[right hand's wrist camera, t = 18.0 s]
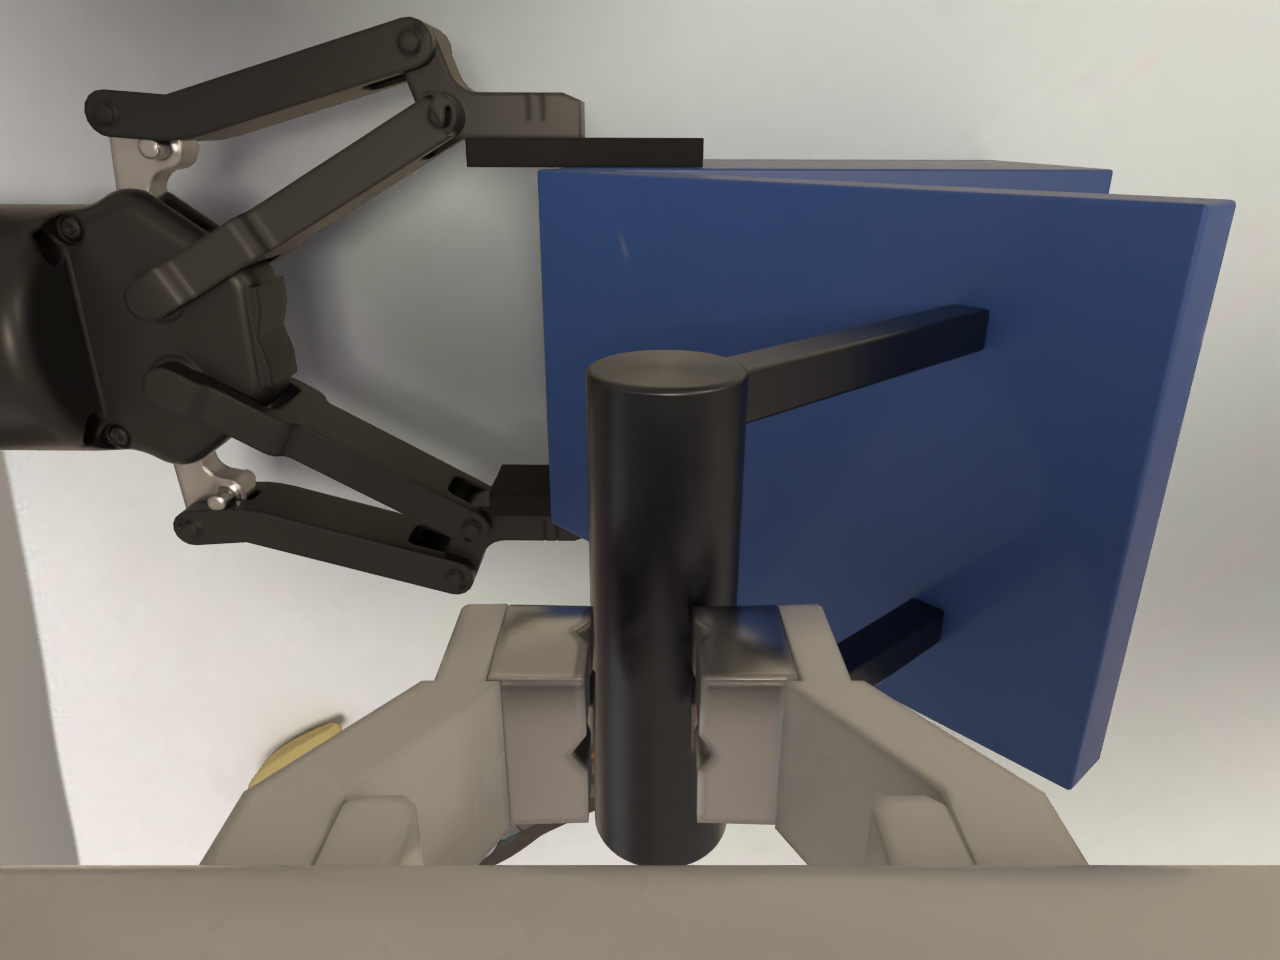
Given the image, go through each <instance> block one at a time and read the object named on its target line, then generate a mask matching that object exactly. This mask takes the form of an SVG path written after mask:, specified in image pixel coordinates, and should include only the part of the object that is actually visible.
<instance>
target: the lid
mask: <svg viewBox="0 0 1280 960" xmlns="http://www.w3.org/2000/svg"><path fill="white" fill-rule="evenodd" d="M538 193H539V218H540V243H541V269H542V294H543V320H544V345H545V371H546V396H547V421H548V447H549V472H550V498H551V521H552V523H554V524H556V525H558V526H560V527H562V528H564V529H566V530H567V531H569V532H571V533H573V534H575V535H577V536H579V537H581V538H583V539H585V540H587V541H589V556H590V602H591V606H593V611H594V632H595V644H594V657H593V670H594V671H595V672H596V719H595V742H594V786H595V821H596V827H597V830H598V832H599V834H600V836H601V838H602V840H603V841H604V843H605V844H606V845H607V846H608V847H609V848H610V850H611V851H613V852H614V853H615V854H616V855H618V856H619V857H621V858H623V859H624V860H627V861H629V862H631V863H634V864H637V865H688V864H691V863H693V862H695V861H697V860H699V859H701V858H703V857H704V856H706V855H707V854H708V853H710V852H711V851H712V850H713V849H714V848H715V846H716V845H717V844H718V843H719V841H720V839H721V838H722V836H723V833H724V831H725V827H726V823H697V815H696V805H695V794H694V783H693V759H694V754H692V753H691V747H690V731H689V672H690V670H691V669H692V659H691V647H690V621H691V608H692V607H704V606H746V605H796V604H818V605H820V606H821V607H822V608H823V610H824V613H825V616H826V618H827V621H828V623H829V626H830V628H831V631H832V633H833V636H834V638H835V641H836V643H837V646H838V648H839V651H840V653H841V656H842V658H843V661H844V663H845V666H846V668H847V671H848V673H849V676H850V678H851V681H865V682H867V683H868V684H870V685H871V686H873V687H875V688H876V689H878V690H879V691H881V692H883V693H884V694H886V695H887V696H889V697H891V698H892V699H894V700H896V701H897V702H899V703H901V704H903V705H905V706H907V707H909V708H911V709H913V710H915V711H917V712H919V713H921V714H922V715H924V716H926V717H928V718H930V719H932V720H934V721H936V722H938V723H940V724H942V725H944V726H946V727H948V728H949V729H951V730H953V731H955V732H957V733H959V734H961V735H963V736H965V737H967V738H969V739H971V740H973V741H975V742H977V743H978V744H980V745H982V746H984V747H986V748H988V749H990V750H992V751H994V752H996V753H998V754H1000V755H1002V756H1004V757H1005V758H1007V759H1009V760H1011V761H1013V762H1015V763H1017V764H1019V765H1021V766H1023V767H1025V768H1027V769H1029V770H1031V771H1032V772H1034V773H1036V774H1038V775H1040V776H1042V777H1044V778H1046V779H1048V780H1050V781H1052V782H1054V783H1056V784H1058V785H1059V786H1061V787H1063V788H1065V789H1068V790H1071V789H1072V788H1073V787H1074V786H1075V785H1076V784H1077V782H1078V781H1079V780H1080V779H1081V778H1082V777H1083V776H1084V775H1085V774H1086V773H1087V772H1088V770H1089V769H1090V768H1091V767H1092V766H1093V765H1094V764H1095V763H1096V762H1097V761H1098V760H1099V758H1100V754H1101V750H1102V746H1103V742H1104V738H1105V734H1106V730H1107V726H1108V721H1109V717H1110V713H1111V709H1112V705H1113V701H1114V697H1115V693H1116V689H1117V685H1118V681H1119V677H1120V673H1121V669H1122V665H1123V661H1124V657H1125V653H1126V649H1127V644H1128V640H1129V636H1130V632H1131V628H1132V624H1133V620H1134V616H1135V612H1136V608H1137V604H1138V600H1139V596H1140V592H1141V588H1142V584H1143V580H1144V576H1145V572H1146V567H1147V563H1148V559H1149V555H1150V551H1151V547H1152V543H1153V539H1154V535H1155V531H1156V527H1157V523H1158V519H1159V515H1160V511H1161V507H1162V503H1163V499H1164V495H1165V490H1166V486H1167V482H1168V478H1169V474H1170V470H1171V466H1172V462H1173V458H1174V454H1175V450H1176V446H1177V442H1178V438H1179V434H1180V430H1181V426H1182V422H1183V418H1184V413H1185V409H1186V405H1187V401H1188V397H1189V393H1190V389H1191V385H1192V381H1193V377H1194V373H1195V369H1196V365H1197V361H1198V357H1199V353H1200V349H1201V345H1202V341H1203V336H1204V332H1205V328H1206V324H1207V320H1208V316H1209V312H1210V308H1211V304H1212V300H1213V296H1214V292H1215V288H1216V284H1217V280H1218V276H1219V272H1220V268H1221V264H1222V259H1223V255H1224V251H1225V247H1226V243H1227V239H1228V235H1229V231H1230V227H1231V223H1232V219H1233V215H1234V211H1235V207H1236V204H1235V201H1233V200H1225V199H1204V198H1183V197H1162V196H1141V195H1120V194H1099V193H1078V192H1057V191H1036V190H1015V189H994V188H973V187H952V186H931V185H910V184H889V183H868V182H847V181H826V180H805V179H784V178H763V177H742V176H720V175H699V174H678V173H657V172H636V171H615V170H594V169H546V170H539V171H538Z"/></svg>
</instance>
